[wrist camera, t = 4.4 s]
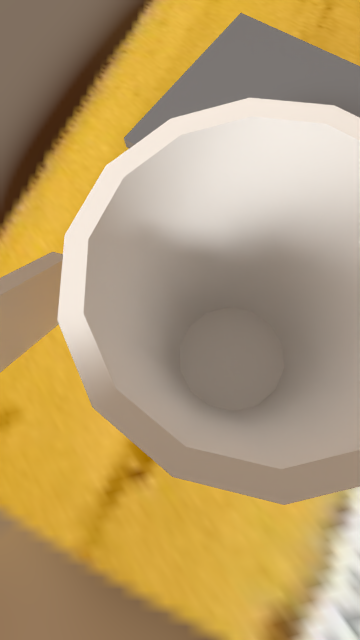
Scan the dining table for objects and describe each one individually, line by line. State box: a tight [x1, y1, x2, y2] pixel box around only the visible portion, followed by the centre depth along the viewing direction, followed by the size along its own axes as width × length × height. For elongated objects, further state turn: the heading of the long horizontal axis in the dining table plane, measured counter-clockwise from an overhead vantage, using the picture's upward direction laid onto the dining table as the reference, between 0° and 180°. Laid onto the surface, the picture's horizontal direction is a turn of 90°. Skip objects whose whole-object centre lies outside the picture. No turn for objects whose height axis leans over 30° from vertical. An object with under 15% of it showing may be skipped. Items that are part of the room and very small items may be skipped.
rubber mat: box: [124, 13, 360, 148], centre depth 23 cm, size 18×14×1 cm
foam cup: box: [57, 98, 360, 505], centre depth 14 cm, size 10×9×13 cm
